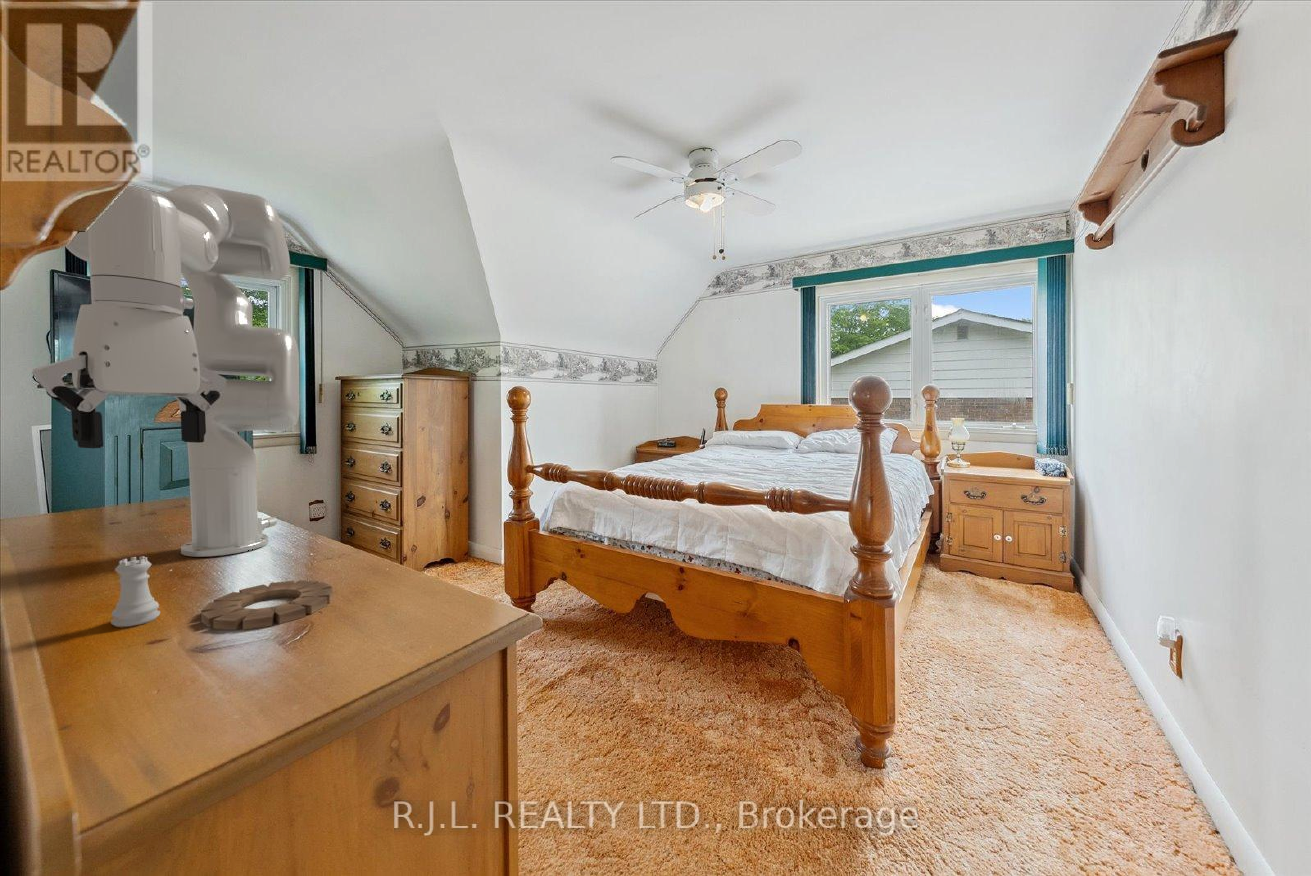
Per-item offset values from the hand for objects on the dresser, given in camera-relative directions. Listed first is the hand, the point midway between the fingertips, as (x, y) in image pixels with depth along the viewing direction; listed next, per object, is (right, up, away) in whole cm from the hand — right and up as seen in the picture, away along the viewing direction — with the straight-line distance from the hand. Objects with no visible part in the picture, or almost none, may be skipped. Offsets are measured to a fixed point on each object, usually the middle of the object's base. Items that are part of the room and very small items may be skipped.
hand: (145, 444), depth 61 cm
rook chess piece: (-5, -23, +4) cm, 24 cm away
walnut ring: (+8, -22, +9) cm, 26 cm away
